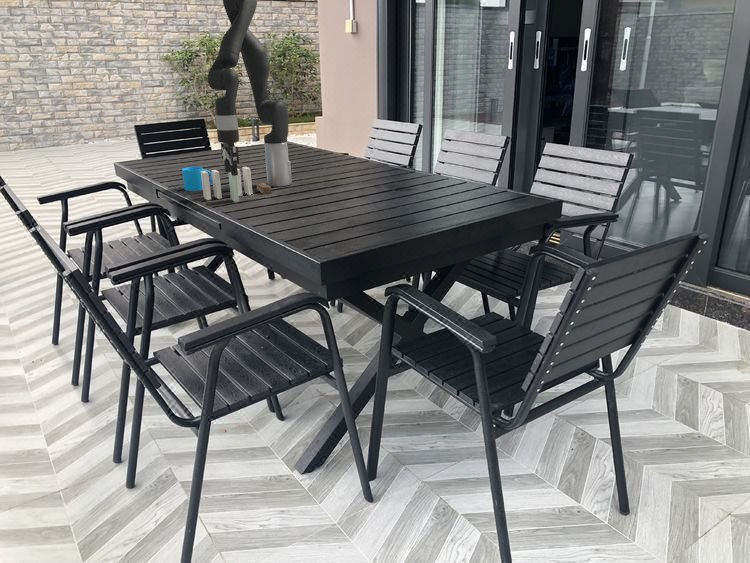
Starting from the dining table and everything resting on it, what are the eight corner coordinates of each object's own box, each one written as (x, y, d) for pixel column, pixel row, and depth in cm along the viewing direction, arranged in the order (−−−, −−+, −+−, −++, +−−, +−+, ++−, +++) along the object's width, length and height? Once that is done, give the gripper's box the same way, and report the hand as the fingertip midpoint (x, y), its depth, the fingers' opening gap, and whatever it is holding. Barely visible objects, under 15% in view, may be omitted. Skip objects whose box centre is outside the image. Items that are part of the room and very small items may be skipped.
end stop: (264, 189, 246) (263, 183, 245) (271, 193, 238) (271, 186, 237) (256, 190, 244) (256, 183, 243) (264, 194, 237) (263, 187, 236)
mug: (186, 191, 244) (183, 171, 241) (182, 188, 251) (180, 168, 248) (216, 188, 249) (214, 168, 246) (212, 184, 256) (209, 165, 253)
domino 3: (235, 199, 230) (232, 172, 226) (239, 201, 226) (236, 174, 222) (231, 199, 229) (228, 172, 226) (234, 202, 225) (232, 175, 222)
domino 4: (238, 193, 239) (236, 167, 236) (242, 195, 235) (240, 169, 232) (234, 193, 238) (232, 168, 235) (238, 196, 234) (235, 170, 231)
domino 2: (218, 195, 236) (215, 169, 232) (221, 198, 232) (219, 171, 228) (214, 196, 235) (211, 170, 231) (217, 198, 231) (214, 172, 227)
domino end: (248, 192, 241) (246, 166, 237) (252, 194, 237) (250, 168, 233) (244, 192, 240) (242, 167, 237) (248, 195, 236) (246, 169, 233)
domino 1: (207, 197, 234) (205, 170, 230) (211, 199, 230) (208, 172, 226) (203, 197, 233) (200, 171, 230) (207, 200, 229) (203, 173, 226)
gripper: (243, 129, 214) (247, 175, 220) (232, 125, 226) (236, 170, 231) (222, 130, 211) (226, 177, 216) (212, 127, 223) (216, 171, 228)
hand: (231, 173), depth 224 cm, fingers open, 8 cm apart
